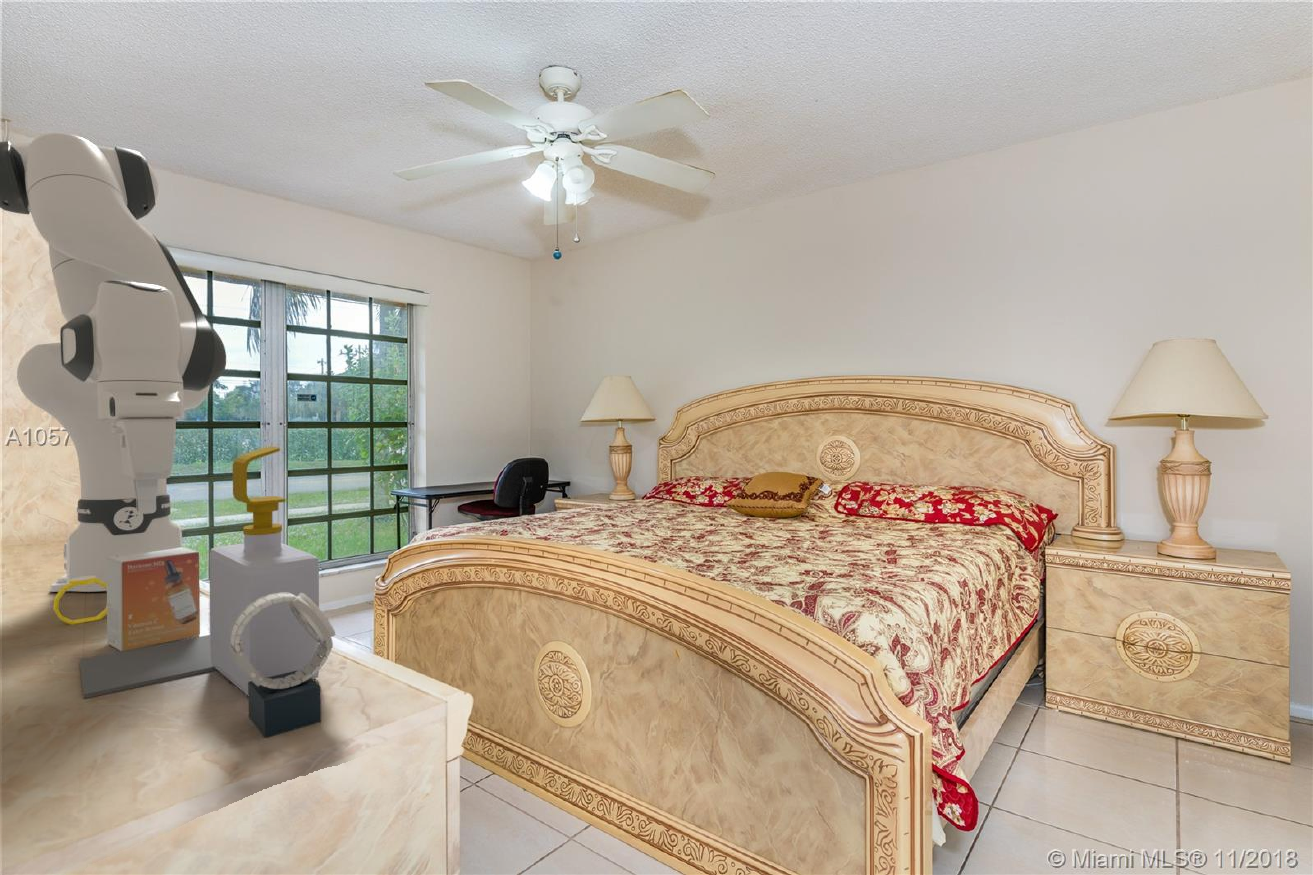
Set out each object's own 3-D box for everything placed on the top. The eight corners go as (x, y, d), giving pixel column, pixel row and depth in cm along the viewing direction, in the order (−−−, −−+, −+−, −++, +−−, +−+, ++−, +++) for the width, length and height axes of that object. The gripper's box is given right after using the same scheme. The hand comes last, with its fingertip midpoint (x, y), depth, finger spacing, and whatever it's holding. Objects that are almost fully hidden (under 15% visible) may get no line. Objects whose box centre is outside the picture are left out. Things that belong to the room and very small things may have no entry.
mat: (79, 662, 73) (79, 659, 73) (229, 634, 82) (229, 631, 82) (83, 698, 63) (83, 694, 63) (252, 662, 73) (252, 658, 73)
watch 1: (57, 631, 85) (52, 585, 85) (55, 626, 87) (49, 582, 87) (117, 617, 90) (112, 574, 89) (113, 613, 91) (108, 571, 91)
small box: (120, 654, 76) (118, 561, 75) (106, 644, 79) (104, 556, 79) (202, 635, 82) (200, 550, 82) (185, 627, 85) (183, 545, 85)
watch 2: (344, 714, 59) (342, 592, 59) (240, 745, 54) (237, 610, 54) (324, 696, 63) (322, 581, 63) (225, 722, 58) (222, 597, 58)
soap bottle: (321, 679, 67) (321, 449, 66) (248, 700, 62) (246, 452, 61) (275, 649, 75) (274, 443, 74) (207, 665, 70) (205, 444, 69)
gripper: (106, 409, 92) (110, 510, 92) (116, 401, 76) (121, 521, 76) (162, 409, 96) (166, 505, 96) (183, 401, 81) (187, 515, 81)
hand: (146, 512), depth 86 cm, fingers closed
